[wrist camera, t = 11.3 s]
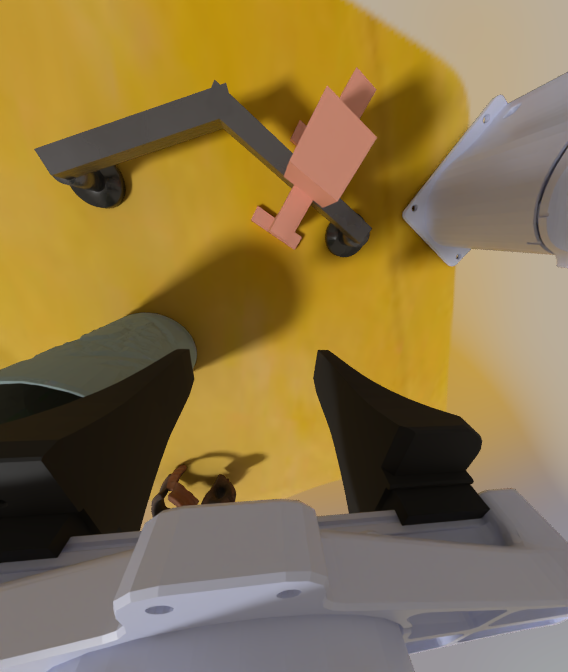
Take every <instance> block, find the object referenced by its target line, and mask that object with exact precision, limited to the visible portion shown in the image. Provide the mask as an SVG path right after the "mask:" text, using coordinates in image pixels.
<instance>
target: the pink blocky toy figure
mask: <svg viewBox="0 0 568 672" xmlns="http://www.w3.org/2000/svg"><path fill="white" fill-rule="evenodd" d="M375 91H376V89H375V87H374V86H373V85H372V84H371V83H370V82H369V81H368V79H367V78H366V77H365V76H364V75H363V74H362V73H361V71H360V70H359V69H358V68H356V69H355V71H354V73H353V75H352V76H351V78H350V80H349V82H348V83H347V85H346V87H345V89H344V91H343V92H342V94H341V96H340V98H339V97H338V96H337V95H336V94H335V93H334V92H333V91H332V90H331V89H330V88H329V87H328V86H327V87H326V89H325V91H324V93H323V95H322V97H321V99H320V101H319V103H318V105H317V107H316V109H315V111H314V113H313V115H312V117H311V119H310V121H309V123H308V125H307V126H306V125H305V124H304V123H303V122H302V121H301V120H300V121H299V123H298V125H297V127H296V129H295V131H294V133H293V135H292V137H291V140H290V141H291V142H293V143H294V144H295V145H296V146H297V147H296V149H295V151H294V153H293V155H292V157H291V159H290V161H289V163H288V166H287V169H286V171H285V174H284V177H285V178H286V179H287V180H289V181H290V182H291V183H292V184H294V186H293V187H292V189H291V191H290V193H289V195H288V197H287V199H286V201H285V203H284V205H283V206H282V208H281V210H280V212H279V213H278V214H277V216H276V217H275V218H274V217H273V216H271V215H270V214H269V213H267V212H266V211H264V210H263V209H262V208H260V207H259V206H258V207H257V209H256V211H255V213H254V215H253V217H252V219H251V221H253V222H254V223H256V224H257V225H259V226H260V227H262V228H263V229H265V230H266V231H268V232H269V233H270V234H272V235H273V236H275V237H276V238H278V239H279V240H281V241H282V242H284V243H285V244H287V245H288V246H289V247H291V248H292V249H294V250H295V248H296V247H297V245H298V243H299V242H300V240H301V238H302V237H301V236H299V235H298V234H297V233H295V231H296V229H297V227H298V225H299V224H300V222H301V220H302V218H303V217H304V215H305V213H306V212H307V210H308V208H309V206H310V205H311V203H312V201H313V200H314V201H315V202H316V203H317V204H318V205H320V206H321V207H322V208H323V207H326V206H328V205H331V204H333V203H335V202H338V200H339V198H340V197H341V195H342V194H343V192H344V190H345V189H346V187H347V185H348V184H349V182H350V181H351V179H352V177H353V176H354V174H355V172H356V171H357V169H358V168H359V166H360V164H361V163H362V161H363V159H364V158H365V156H366V155H367V153H368V151H369V150H370V148H371V146H372V145H373V143H374V142H375V140H376V138H377V137H376V136H375V135H374V134H373V133H372V132H371V131H370V130H369V129H368V128H367V127H366V125H365V124H364V123H363V122H362V121H361V120H360V117H361V116H362V114H363V112H364V110H365V109H366V107H367V105H368V103H369V102H370V100H371V98H372V96H373V95H374V93H375Z"/></svg>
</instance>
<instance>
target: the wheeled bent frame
mask: <svg viewBox="0 0 568 672" xmlns="http://www.w3.org/2000/svg"><path fill="white" fill-rule="evenodd" d="M220 129H224V130H225V131H227V132H228V133H229V134H230V135H231V136H232V137H233V138H235V139H236V140H237V141H238V142H239V143H240V144H241V145H243V146H244V147H245V148H246V149H247V150H248V151H249V152H251V153H252V154H253V155H254V156H255V157H256V158H258V159H259V160H260V161H261V162H262V163H263V164H264V165H266V166H267V167H268V168H269V169H270V170H271V171H272V172H274V173H275V174H276V175H277V176H278V177H279V178H280V179H282V180H283V181H284V182H285V183H286V184H287V185H288V186H290V187H291V188H292V187H293V186H294V184H292V183H291V182H290V181H289V180H287V179H286V178H285V177H284V174H285V171H286V169H287V166H288V163H289V161H290V159H291V157H292V155H293V153H292V152H291V151H290V150H289V149H287V148H286V147H285V146H284V145H283V144H282V143H281V142H280V141H279V140H278V139H277V138H276V137H275V136H274V135H273V134H272V133H271V132H269V131H268V130H267V129H266V128H265V127H264V126H263V125H262V124H261V123H260V122H259V121H258V120H257V119H256V118H255V117H254V116H253V115H251V114H250V113H249V112H248V111H247V110H246V109H245V108H244V107H243V106H242V105H241V104H240V103H239V102H238V101H237V100H236V99H235V98H233V97H232V96H231V95H230V94H229V92H228V89H227V85H226V83H224V84H221V85H220V84H219V83H218V82H217V81H215V80H214V82H213V85H212V87H211V88H210V89H207V90H204V91H201V92H198V93H195V94H192V95H189V96H187V97H184V98H181V99H178V100H175V101H172V102H169V103H166V104H163V105H160V106H158V107H155V108H152V109H149V110H146V111H143V112H140V113H137V114H134V115H131V116H129V117H126V118H123V119H120V120H117V121H114V122H111V123H108V124H105V125H102V126H100V127H97V128H94V129H91V130H88V131H85V132H82V133H79V134H76V135H73V136H71V137H68V138H65V139H62V140H59V141H56V142H53V143H50V144H47V145H44V146H42V147H39V148H36V149H34V150H35V151H36V153H37V154H38V156H39V157H40V159H41V160H42V162H43V163H44V165H45V167H46V168H47V170H48V171H49V173H50V174H51V175H52V176H53V177H54V178H55V179H56V180H57V181H59V182H61V183H63V184H66V185H70V187H71V188H72V189H73V191H74V192H75V193H76V194H77V195H78V196H79V197H80V198H81V199H82V200H84V201H85V202H87V203H88V204H90V205H93V206H96V207H101V208H114V207H116V206H118V205H119V204H120V203H121V202H122V201H123V199H124V196H125V183H124V179H123V177H122V174H121V172H120V171H119V169H118V167H117V166H116V164H119V163H122V162H125V161H128V160H131V159H134V158H137V157H140V156H142V155H145V154H148V153H151V152H154V151H157V150H160V149H163V148H166V147H169V146H172V145H175V144H178V143H181V142H184V141H187V140H190V139H193V138H196V137H199V136H202V135H205V134H208V133H211V132H214V131H217V130H220ZM311 206H312V207H314V208H315V209H316V210H317V211H318V212H319V213H320V214H322V215H323V216H324V217H325V218H326V219H327V220H328V221H330V223H329V225H328V227H327V230H326V234H325V240H326V245H327V247H328V249H329V250H330V252H332V253H333V254H334V255H336V256H340V257H349V256H352V255H354V254H355V253H357V252H358V251H359V250H360V249H361V248H362V246H363V245H364V244H365V243H366V242H367V241H368V239H369V232H370V231H371V229H372V228H371V227H370V226H369V225H368V224H367V223H366V222H365V221H364V219H363V218H362V217H361V216H360V215H359V214H357V213H355V212H354V211H353V210H352V209H351V208H350V207H349V206H348V205H347V204H346V203H345V202H344V201H343V200H341V199H340V198H339V200H338V202H335V203H333V204H331V205H328V206H326V207H323V208H322V207H321V206H320V205H318V204H317V203H316V202H315V201H314V200H313V201H312V203H311Z"/></svg>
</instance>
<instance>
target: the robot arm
mask: <svg viewBox="0 0 568 672" xmlns="http://www.w3.org/2000/svg"><path fill="white" fill-rule="evenodd" d="M484 117H485V122H484V123H483V118H484ZM413 205H414V207H415V209H414V211H412V206H413ZM402 217H403V219H404V220H405V221H406V222H407V223H408V224H409V225H410V226H411V228H412V229H413V230H414V231H415V232H416V233H417V234H418V235H419V236H420V237H421V238H422V239H423V240H424V241H425V242H426V243H427V244H428V245H429V246H430V247H431V248H432V249H433V250H434V251H435V252H436V254H437V255H438V256H439V257H440V258H441V259H442V260H443V261H444V262H445V263H446V264H447V265H448V266H455V265H456V264H457V263H458V262H459V261H460V260H461V259H462V258H463V257H464V256H465V255H466V254H467V253H468V252H469V251H470V250H471V249H483V250H496V251H497V250H498V251H511V252H523V253H537V254H550V255H556V258H557V267H561V268H568V72H566V73H565V74H563V75H561V76H559V77H557V78H555V79H553V80H551V81H549V82H548V83H546V84H544V85H542V86H540V87H538V88H537V89H534V90H532V91H531V92H529V93H527V94H525V95H523V96H521V97H519V98H517V99H515V100H514V101H512V102H510V103H507V101H506V99H505V98H504V96H503V95H498V96H496V97H495V98H493V99H492V100H491V101H490V102H489V103H488V105H487V106H486V107H485V108H484V110H483V111H482V112H481V113H480V115H479V116H478V117H477V118H476V120H475V121H474V122H473V124H472V125H471V126H470V127H469V129H468V130H467V131H466V132H465V134H464V135H463V136H462V137H461V139H460V140H459V141H458V143H457V144H456V145H455V146H454V148H453V149H452V150H451V151H450V153H449V154H448V155H447V156H446V158H445V159H444V160H443V162H442V163H441V164H440V165H439V167H438V168H437V169H436V170H435V172H434V173H433V174H432V175H431V177H430V178H429V179H428V181H427V182H426V183H425V184H424V186H423V187H422V188H421V189H420V191H419V192H418V193H417V195H416V196H415V197H414V198H413V200H412V201H411V202H410V203H409V205H408V206H407V207H406V208H405V210H404V211H403V214H402ZM457 255H458V257H457V258H456V256H457ZM313 379H314V384H315V388H316V393H317V396H318V399H319V401H320V404H321V407H322V409H323V412H324V415H325V417H326V420H327V423H328V425H329V428H330V432H331V435H332V439H333V442H334V446H335V450H336V454H337V459H338V463H339V467H340V471H341V476H342V481H343V485H344V490H345V495H346V500H347V505H348V510H349V514H340V515H327V516H316V512H315V510H314V509H313V508H312V507H310V506H308V505H306V504H305V503H303V502H301V501H299V500H289V499H272V500H258V501H244V502H230V503H216V504H202V505H188V506H181V507H176V508H172V509H167V510H163V511H162V512H160V513H159V514H158V515H156V516H155V517H153V518H152V519H150V520H149V521H148V522H146V523H145V524H144V527H143V529H142V531H140V528H141V524H142V520H143V517H144V513H145V509H146V506H147V503H148V500H149V496H150V493H151V490H152V487H153V483H154V480H155V477H156V474H157V471H158V468H159V465H160V462H161V459H162V456H163V453H164V451H165V448H166V445H167V442H168V440H169V437H170V435H171V433H172V430H173V428H174V426H175V424H176V422H177V420H178V418H179V416H180V414H181V412H182V410H183V408H184V405H185V403H186V401H187V399H188V397H189V395H190V391H191V388H192V385H193V382H194V374H193V368H192V362H191V356H190V350H189V349H176V350H174V351H172V352H171V353H169V354H167V355H166V356H164V357H162V358H161V359H159V360H157V361H156V362H154V363H152V364H151V365H149V366H147V367H146V368H144V369H142V370H140V371H138V372H137V373H135V374H133V375H131V376H129V377H127V378H126V379H124V380H122V381H120V382H118V383H115V384H113V385H111V386H109V387H107V388H105V389H102V390H100V391H98V392H95V393H93V394H90V395H88V396H85V397H83V398H80V399H78V400H75V401H73V402H70V403H67V404H64V405H61V406H59V407H56V408H53V409H50V410H47V411H44V412H41V413H38V414H34V415H31V416H28V417H25V418H21V419H18V420H14V421H11V422H7V423H3V424H0V672H415V671H414V668H413V665H412V663H411V660H410V657H409V655H410V654H414V653H419V652H423V651H428V650H433V649H437V648H442V647H447V646H451V645H456V644H460V643H465V642H469V641H474V640H478V639H483V638H488V637H493V636H498V635H502V634H507V633H513V632H517V631H522V630H528V629H534V628H540V627H545V626H551V625H556V624H558V623H561V622H563V621H566V620H568V542H567V541H566V540H565V539H564V538H563V537H562V536H561V535H560V534H559V533H558V532H557V531H556V530H555V529H554V528H553V527H552V526H551V525H550V524H549V523H548V522H547V521H546V520H545V519H544V518H543V517H542V516H541V515H540V514H539V513H538V512H537V511H536V510H535V509H534V508H533V507H532V506H531V505H530V504H529V503H528V502H527V500H526V499H525V498H524V497H523V496H522V495H521V494H519V492H518V491H516V489H513V488H507V489H495V490H494V489H493V490H486V491H482V492H480V493H478V494H477V492H476V491H475V490H474V489H473V487H472V486H471V485H470V484H472V483H473V482H474V481H473V479H472V477H471V476H470V475H469V474H468V473H467V471H466V469H467V468H468V467H469V465H470V464H471V463H472V461H473V460H474V459H475V457H476V456H477V455H478V453H479V451H480V449H481V445H482V440H481V436H480V435H479V434H478V433H477V432H476V431H475V430H474V429H473V428H472V427H471V426H470V425H468V424H467V423H466V422H465V421H464V420H463V419H462V418H461V417H460V416H457V415H453V414H450V413H447V412H444V411H441V410H438V409H434V408H431V407H429V406H426V405H423V404H421V403H418V402H415V401H413V400H410V399H408V398H405V397H403V396H401V395H399V394H397V393H394V392H392V391H390V390H388V389H386V388H384V387H382V386H381V385H379V384H377V383H375V382H373V381H372V380H370V379H368V378H367V377H365V376H364V375H362V374H360V373H359V372H357V371H356V370H355V369H353V368H352V367H350V366H349V365H348V364H346V363H345V362H344V361H342V360H341V359H340V358H338V357H337V356H336V355H334V354H333V353H332V352H330V351H329V350H318V352H317V358H316V365H315V371H314V377H313Z"/></svg>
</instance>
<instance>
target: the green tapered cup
mask: <svg viewBox="0 0 568 672" xmlns="http://www.w3.org/2000/svg"><path fill="white" fill-rule="evenodd" d="M176 349H189V350H190V356H191V362H192V368H194V365H195V363H196V359H197V351H196V346H195V343H194V341H193V338H192V337H191V335H190V334H189V333H188V331H187V330H186V329H185V328H184V327H183V326H182V325H180V324H179V323H178V322H176V321H174V320H172V319H171V318H168V317H166V316H163V315H160V314H156V313H136V314H131V315H128V316H126V317H123V318H121V319H119V320H117V321H114V322H112V323H110V324H108V325H106V326H104V327H100V328H99V329H97V330H93V331H92V332H90V333H88V334H84V335H83V336H81V338H80V339H78V340H75V341H72V342H67V343H65V344H63V345H61V346H56V347H54V348H52V349H49V350H47V351H45V352H43V353H40V354H38V355H36V356H35V357H34V358H32V359H29V360H25V361H21V362H18V363H16V364H13V365H11V366H8V367H6V368H4V369H1V370H0V424H3V423H7V422H11V421H14V420H18V419H21V418H25V417H28V416H31V415H34V414H38V413H41V412H44V411H47V410H50V409H53V408H56V407H59V406H61V405H64V404H67V403H70V402H73V401H75V400H78V399H80V398H83V397H85V396H88V395H90V394H93V393H95V392H98V391H100V390H102V389H105V388H107V387H109V386H111V385H113V384H115V383H118V382H120V381H122V380H124V379H126V378H127V377H129V376H131V375H133V374H135V373H137V372H138V371H140V370H142V369H144V368H146V367H147V366H149V365H151V364H152V363H154V362H156V361H157V360H159V359H161V358H162V357H164V356H166V355H167V354H169V353H171V352H172V351H174V350H176Z"/></svg>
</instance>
